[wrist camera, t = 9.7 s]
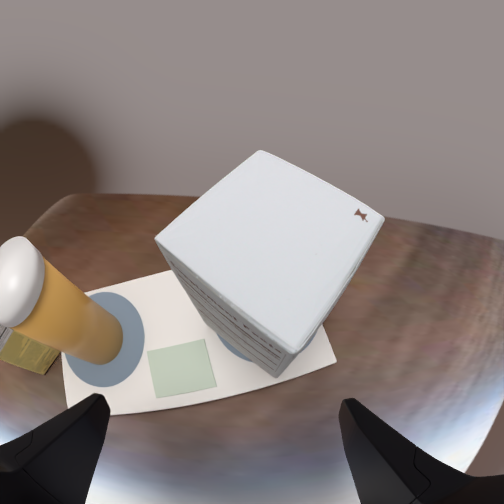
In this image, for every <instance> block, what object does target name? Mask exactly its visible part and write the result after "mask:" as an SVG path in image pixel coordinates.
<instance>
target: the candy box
mask: <svg viewBox="0 0 504 504" xmlns="http://www.w3.org/2000/svg"><path fill="white" fill-rule="evenodd" d="M60 352H61V351H59V350H56V349H54V348H51V347H49V346H47V345H45V344H42V343H40V342H38V341H36V340H34V339H32V338H29V337H27V336H25V335H23V334H21V333H19V332H17V331H15V330H14V329H12V328H10V327H5V326H3V325H1V324H0V360H2V361H5V362H7V363H10V364H12V365H15V366H18V367H21V368H24V369H27V370H30V371H33V372H35V373H39V374H42V375H44V374H45V373H46V372H47V370H48V368H49V367H50V366H51V364H52V363H53V361H54V360H55V359H56V357H57V356H58V354H59V353H60Z"/></svg>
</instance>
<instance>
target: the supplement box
mask: <svg viewBox="0 0 504 504" xmlns="http://www.w3.org/2000/svg"><path fill="white" fill-rule="evenodd" d="M384 220H385V219H384V217H383V216H382V215H380V214H379V213H377V212H376V211H374V210H373V209H371V208H370V207H368V206H367V205H365V204H364V203H362V202H360V201H359V200H357V199H355V198H354V197H352V196H350V195H348V194H347V193H345V192H343V191H342V190H340V189H338V188H336V187H334V186H333V185H331V184H329V183H327V182H325V181H323V180H321V179H319V178H318V177H316V176H314V175H312V174H310V173H308V172H306V171H304V170H303V169H301V168H298V167H297V166H295V165H293V164H291V163H289V162H286V161H285V160H283V159H280V158H278V157H277V156H274V155H272V154H270V153H267V152H264V151H262V150H259V151H257V152H256V153H254V154H253V155H252V156H250V157H249V158H248V159H247V160H246V161H244V162H243V163H242V164H241V165H239V166H238V167H237V168H235V169H234V170H233V171H232V172H230V173H229V174H228V175H227V176H225V177H224V178H223V179H222V180H221V181H219V182H218V183H217V184H216V185H215V186H213V187H212V188H211V189H210V190H208V191H207V192H206V193H205V194H204V195H202V196H201V197H200V198H199V199H198V200H197V201H195V202H194V203H193V204H192V205H191V206H190V207H188V208H187V209H186V210H185V211H184V212H183V213H182V214H180V215H179V216H178V217H177V218H176V219H175V220H174V221H172V222H171V223H170V224H169V225H168V226H167V227H166V228H165V229H164V230H163V231H161V232H160V233H159V234H158V235H157V236H156V237H155V241H156V243H157V245H158V247H159V248H160V250H161V252H162V254H163V255H164V257H165V259H166V260H167V262H168V264H169V265H170V267H171V269H172V271H173V272H174V274H175V276H176V277H177V279H178V280H179V282H180V284H181V285H182V287H183V288H184V290H185V291H186V293H187V295H188V297H189V298H190V300H191V301H192V303H193V305H194V306H195V308H196V309H197V311H198V313H199V314H200V316H201V318H202V319H203V321H204V322H205V324H206V325H207V326H209V327H210V328H211V329H212V330H214V331H215V332H216V333H217V334H219V335H220V336H221V337H222V338H223V339H225V340H226V341H227V342H228V343H229V344H231V345H232V346H233V347H234V348H236V349H237V350H238V351H240V352H241V353H242V354H243V355H245V356H246V357H247V358H249V359H250V360H251V361H252V362H254V363H255V364H256V365H258V366H259V367H260V368H262V369H263V370H264V371H266V372H267V373H269V374H270V375H271V376H273V377H274V378H278V377H279V376H280V375H281V374H282V373H283V372H284V370H285V369H286V368H287V367H288V366H289V365H290V364H291V363H292V361H293V360H294V359H295V358H296V357H297V356H298V354H299V353H300V352H301V351H302V349H303V348H304V347H305V346H306V344H307V343H308V342H309V341H310V339H311V338H312V337H313V335H314V334H315V333H316V331H317V330H318V329H319V327H320V326H321V325H322V323H323V322H324V320H325V319H326V317H327V316H328V315H329V313H330V312H331V310H332V309H333V307H334V306H335V304H336V303H337V301H338V300H339V298H340V297H341V295H342V293H343V292H344V290H345V289H346V287H347V285H348V284H349V282H350V281H351V279H352V277H353V276H354V274H355V272H356V271H357V269H358V267H359V265H360V264H361V262H362V260H363V258H364V257H365V255H366V253H367V251H368V250H369V248H370V246H371V244H372V242H373V241H374V239H375V237H376V235H377V233H378V232H379V230H380V228H381V226H382V224H383V222H384Z"/></svg>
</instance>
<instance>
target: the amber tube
mask: <svg viewBox="0 0 504 504" xmlns="http://www.w3.org/2000/svg"><path fill="white" fill-rule="evenodd" d="M0 324H1V325H3V326H5V327H10V328H12V329H14V330H15V331H17V332H19V333H21V334H23V335H25V336H27V337H29V338H32V339H34V340H36V341H38V342H40V343H42V344H45V345H47V346H49V347H51V348H54V349H56V350H59V351H61V352H63V353H66V354H68V355H71V356H74V357H76V358H79V359H82V360H84V361H87V362H90V363H93V364H96V365H104V364H107V363H109V362H111V361H112V360H113V359H115V357H116V356H117V355H118V354H119V352H120V350H121V347H122V343H123V331H122V327H121V325H120V323H119V321H118V320H117V318H116V317H115V316H113V315H112V314H111V313H109V312H108V311H107V310H105V309H104V308H103V307H101V306H100V305H99V304H97V303H96V302H95V301H93V300H92V299H91V298H90V297H88V296H87V295H86V294H85V293H83V292H82V291H81V290H80V289H79V288H77V287H76V286H75V285H74V284H72V283H71V282H70V281H69V280H68V279H67V278H65V277H64V276H63V275H62V274H61V273H60V272H59V271H57V270H56V269H55V268H54V267H53V266H52V265H51V264H50V263H49V262H48V261H47V260H45V259H44V258H43V257H42V255H41V253H40V252H39V251H38V250H37V249H36V248H35V247H34V246H33V245H32V244H31V243H30V242H29V241H28V240H27V239H26V238H24V237H21V236H19V237H14V238H12V239H10V240H8V241H7V242H5V243H4V244H3V245H2V246H1V247H0Z"/></svg>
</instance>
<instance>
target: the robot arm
mask: <svg viewBox="0 0 504 504" xmlns="http://www.w3.org/2000/svg"><path fill="white" fill-rule="evenodd" d="M110 413H111V410H110V407H109V405H108V403H107V401H106V399H105V397H104V395H102V394H98V393H93V394H91V395H90V396H88V397H86V398H85V399H83V400H82V401H80V402H78V403H77V404H75V405H73V406H72V407H70V408H69V409H67V410H65V411H64V412H62V413H60V414H59V415H57V416H55V417H54V418H52V419H50V420H49V421H47V422H45V423H43V424H42V425H40V426H38V427H37V428H35V429H34V430H31V431H30V432H28V433H26V434H24V435H22V436H21V437H19V438H16V439H14V440H12V441H10V442H8V443H5V444H3V445H0V504H85V502H86V498H87V494H88V491H89V487H90V484H91V481H92V477H93V474H94V471H95V468H96V465H97V462H98V459H99V456H100V453H101V450H102V447H103V443H104V440H105V435H106V431H107V426H108V422H109V418H110ZM339 422H340V428H341V433H342V439H343V444H344V450H345V454H346V457H347V460H348V464H349V467H350V470H351V473H352V476H353V480H354V483H355V486H356V489H357V493H358V496H359V499H360V503H361V504H504V475H495V476H485V477H475V476H470V475H467V474H465V473H462V472H460V471H458V470H456V469H454V468H452V467H450V466H448V465H446V464H444V463H442V462H441V461H439V460H437V459H435V458H434V457H432V456H430V455H429V454H427V453H426V452H424V451H423V450H422V449H420V448H419V447H416V445H415V444H413V443H412V442H410V441H409V440H408V439H406V438H405V437H404V436H402V435H401V434H400V433H398V432H397V431H396V430H394V429H393V428H392V427H390V426H389V425H388V424H387V423H385V422H384V421H383V420H381V419H380V418H379V417H378V416H376V415H375V414H374V413H372V412H371V411H370V410H369V409H367V408H366V407H365V406H364V405H362V404H361V403H360V402H359V401H357V400H356V399H355V398H349V399H344V400H343V401H342V404H341V408H340V411H339Z"/></svg>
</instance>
